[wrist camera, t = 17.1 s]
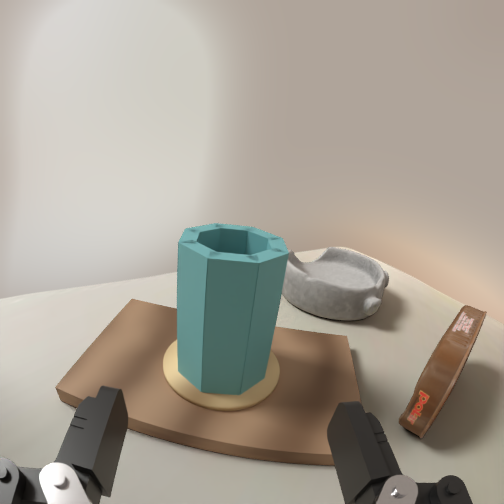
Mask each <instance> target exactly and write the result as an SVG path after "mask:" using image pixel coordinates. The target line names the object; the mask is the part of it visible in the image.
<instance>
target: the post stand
mask: <svg viewBox="0 0 504 504" xmlns="http://www.w3.org/2000/svg"><path fill="white" fill-rule="evenodd" d="M102 385H103V386H108V387H113V388H118V389H122V391H123V395H124V400H125V404H126V408H127V412H128V427H127V428H129V429H132V430H135V431H138V432H141V433H144V434H147V435H150V436H154V437H157V438H160V439H164V440H167V441H171V442H175V443H178V444H182V445H186V446H190V447H194V448H199V449H203V450H208V451H212V452H217V453H222V454H228V455H233V456H239V457H245V458H252V459H259V460H267V461H275V462H285V463H296V464H311V465H335V464H334V461H333V457H332V453H331V450H330V446H329V443H328V439H327V428H328V424H329V422H330V420H331V418H332V416H333V414H334V412H335V410H336V408H337V406H338V404H339V403H340V402H352V401H359V402H360V403H361V399H360V394H359V389H358V384H357V379H356V375H355V370H354V365H353V361H352V356H351V352H350V348H349V343H348V339H347V336H342V335H333V334H325V333H317V332H310V331H302V330H295V329H288V328H281V327H275V330H274V335H273V340H272V345H271V350H270V355H269V360H268V364H267V369H266V374H265V378H264V379H263V380H261V381H260V382H258V383H257V384H256V385H254V386H253V387H251V388H250V389H248V390H247V391H245V392H244V393H242V394H241V395H229V394H215V393H204V392H200V391H199V390H198V389H197V388H196V387H195V386H194V385H192V384H191V383H190V382H189V381H188V380H187V379H186V378H185V377H184V376H182V375H181V374H180V373H179V372H178V356H177V309H176V308H171V307H166V306H162V305H157V304H153V303H148V302H144V301H139V300H135V299H131V300H130V301H129V303H128V304H127V305H126V306H125V307H124V308H123V309H122V310H121V311H120V312H119V314H118V315H117V316H116V317H115V318H114V319H113V320H112V321H111V323H110V324H109V325H108V326H107V327H106V328H105V329H104V330H103V332H102V333H101V334H100V335H99V336H98V337H97V338H96V340H95V341H94V342H93V343H92V344H91V345H90V346H89V348H88V349H87V350H86V351H85V352H84V353H83V355H82V356H81V357H80V358H79V359H78V360H77V362H76V363H75V364H74V365H73V366H72V368H71V369H70V370H69V371H68V372H67V374H66V375H65V376H64V377H63V378H62V380H61V381H60V382H59V383H58V385H57V386H56V387H55V388H56V390H57V393H58V395H59V397H60V400H61V401H63V402H65V403H67V404H69V405H72V406H74V407H76V408H77V407H78V405H79V404H80V403H81V402H82V401H83V400H84V399H85V398H86V397H88V396H90V397H94V398H96V396H97V393H98V391H99V389H100V387H101V386H102Z"/></svg>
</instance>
